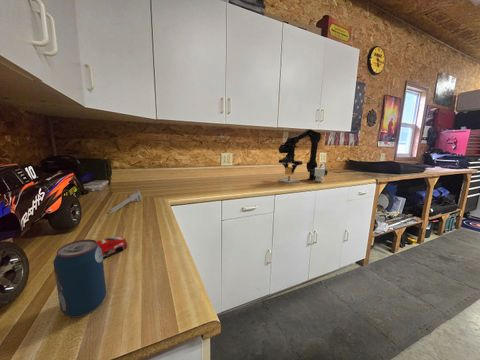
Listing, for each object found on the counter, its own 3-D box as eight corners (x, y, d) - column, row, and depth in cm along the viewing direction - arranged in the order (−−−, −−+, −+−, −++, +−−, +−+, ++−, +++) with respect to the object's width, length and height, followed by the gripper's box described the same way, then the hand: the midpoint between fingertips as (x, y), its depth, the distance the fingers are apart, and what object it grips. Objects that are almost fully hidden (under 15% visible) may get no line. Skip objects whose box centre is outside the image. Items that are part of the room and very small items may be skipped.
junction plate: (286, 179, 177) (286, 174, 176) (300, 181, 168) (300, 176, 167) (277, 181, 168) (277, 175, 167) (291, 183, 159) (291, 178, 158)
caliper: (139, 200, 106) (138, 188, 105) (141, 200, 106) (140, 188, 105) (107, 214, 86) (106, 199, 85) (109, 214, 86) (108, 199, 85)
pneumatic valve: (326, 182, 169) (328, 167, 166) (311, 181, 171) (312, 167, 169) (325, 181, 174) (326, 166, 171) (310, 180, 176) (311, 166, 174)
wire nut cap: (288, 173, 171) (288, 166, 170) (293, 174, 167) (294, 167, 166) (284, 174, 167) (285, 167, 166) (290, 174, 164) (290, 167, 163)
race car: (75, 273, 49) (73, 257, 48) (66, 265, 52) (64, 250, 51) (130, 249, 60) (129, 236, 59) (120, 243, 63) (119, 231, 62)
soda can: (114, 292, 43) (109, 238, 40) (91, 321, 36) (83, 257, 34) (80, 291, 43) (73, 237, 40) (50, 320, 36) (39, 257, 33)
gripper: (275, 152, 165) (274, 172, 168) (296, 154, 152) (294, 175, 155) (283, 152, 173) (281, 171, 176) (303, 153, 160) (301, 173, 163)
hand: (289, 172), depth 167 cm, fingers closed on wire nut cap, 5 cm apart
